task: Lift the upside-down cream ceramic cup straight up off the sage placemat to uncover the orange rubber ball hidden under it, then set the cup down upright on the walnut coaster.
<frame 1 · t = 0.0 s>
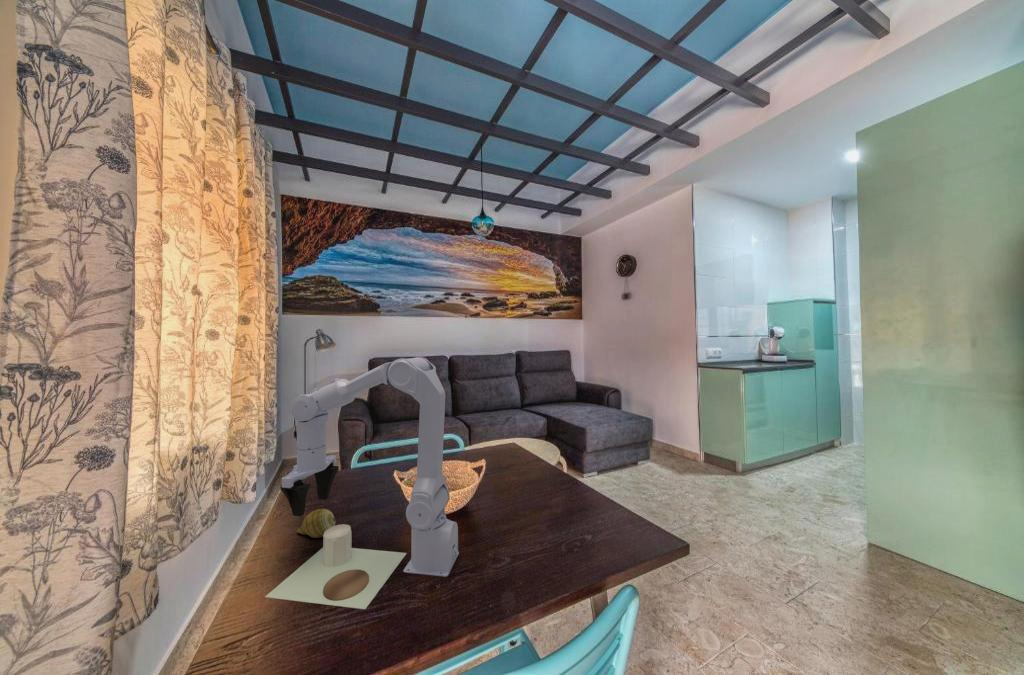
hand: (311, 506, 76), 10 cm above the table, tool pointing down, fingers open, 7 cm apart
cup: (337, 558, 73), resting on placemat
ball: (337, 551, 73), point 2 cm above the table, touching placemat
placemat: (342, 574, 69), on the table
coaster: (346, 584, 65), resting on placemat
seashell: (316, 534, 84), on the table
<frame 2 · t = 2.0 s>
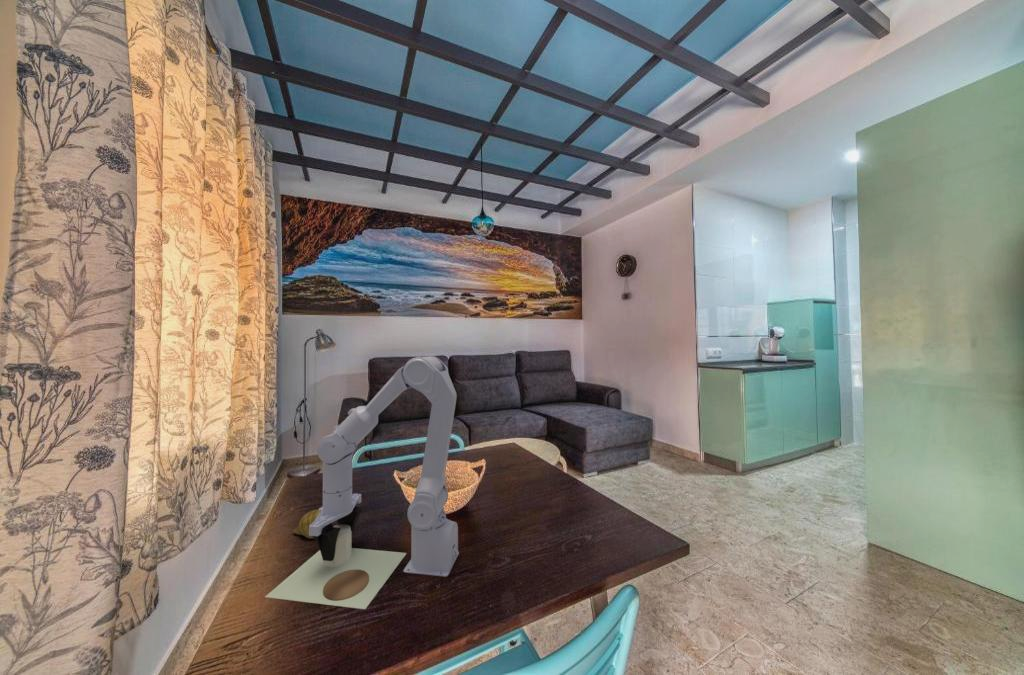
hand: (337, 551, 73), 2 cm above the table, tool pointing down, fingers closed on cup, 5 cm apart
cup: (337, 558, 73), resting on placemat, touching gripper
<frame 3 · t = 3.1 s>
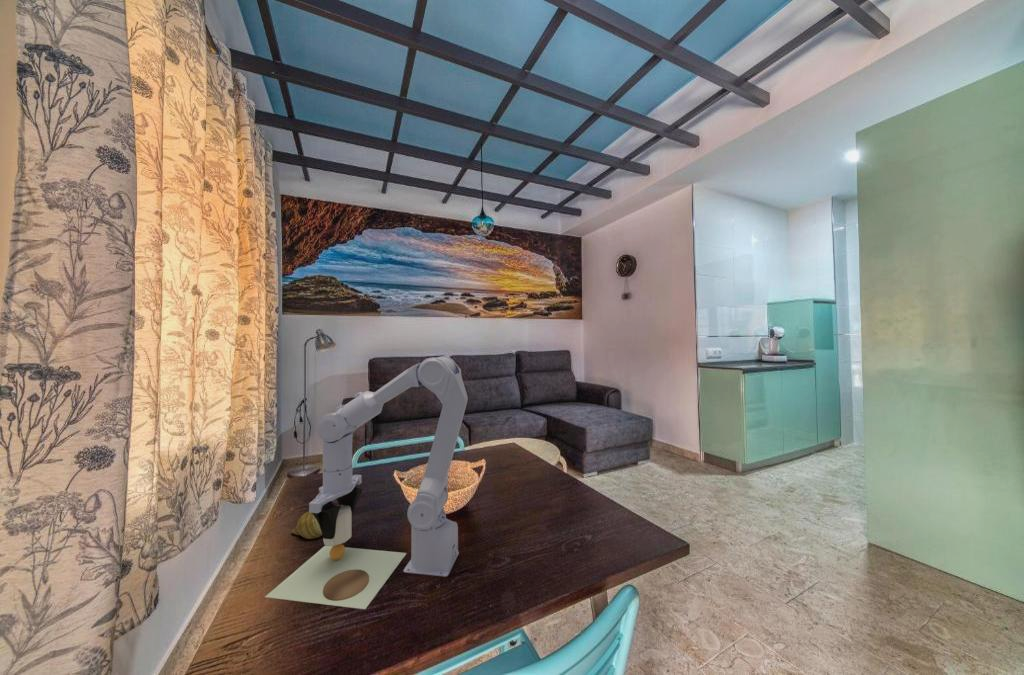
hand: (337, 530, 73), 6 cm above the table, tool pointing down, fingers closed on cup, 5 cm apart
cup: (337, 538, 73), point 5 cm above the table, touching gripper
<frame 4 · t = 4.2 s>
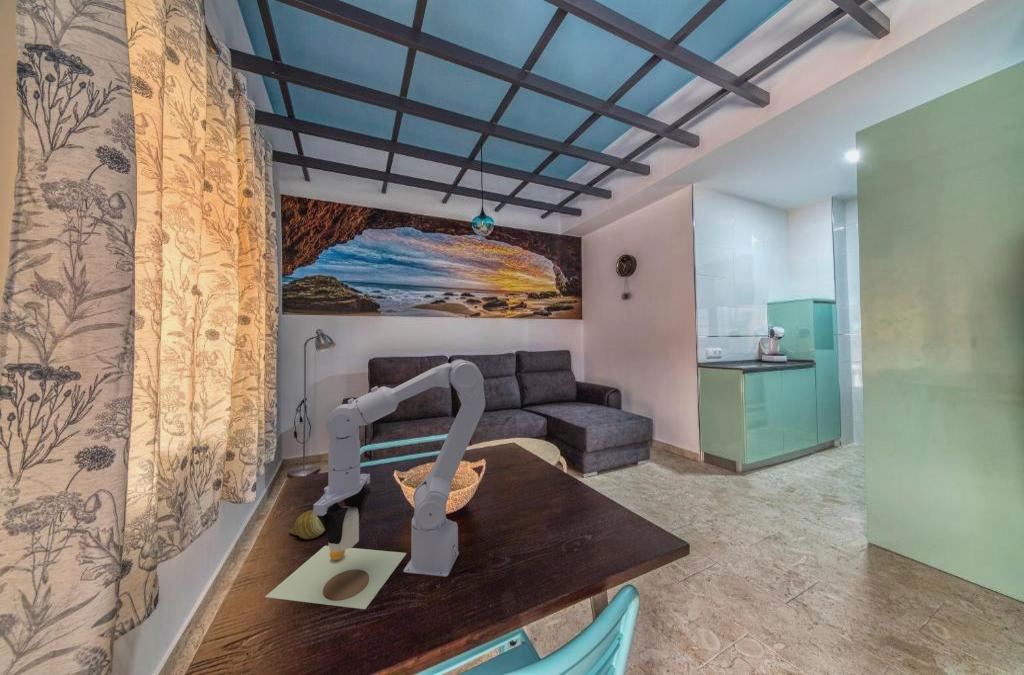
hand: (344, 534, 67), 9 cm above the table, tool pointing down, fingers closed on cup, 5 cm apart
cup: (343, 542, 67), point 7 cm above the table, touching gripper
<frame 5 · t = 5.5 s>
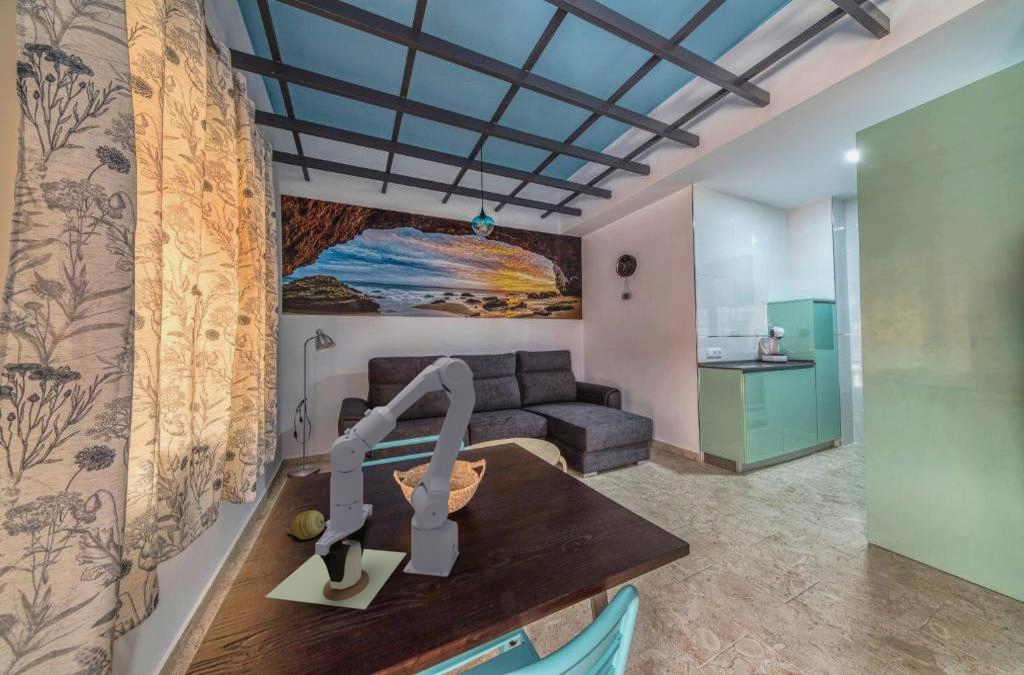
hand: (346, 570, 65), 3 cm above the table, tool pointing down, fingers closed on cup, 5 cm apart
cup: (345, 579, 65), point 1 cm above the table, touching gripper
when the fingers open (3 cm above the table, at t = 6.5 s): cup stays where it is, resting on coaster.
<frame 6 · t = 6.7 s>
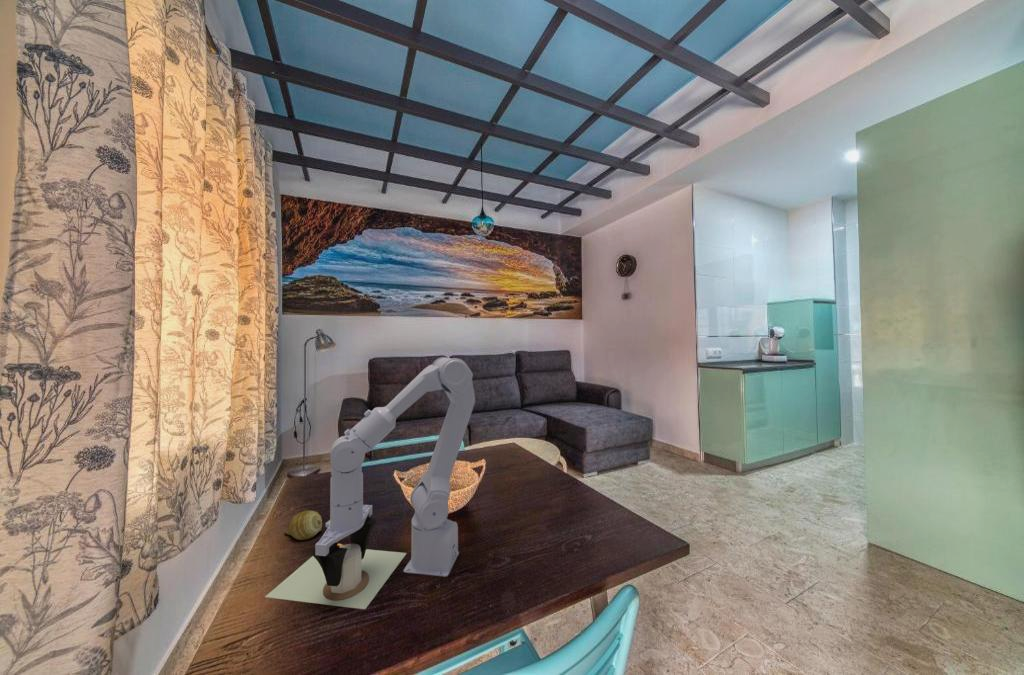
hand: (346, 570, 65), 3 cm above the table, tool pointing down, fingers open, 7 cm apart
cup: (345, 583, 65), point 1 cm above the table, touching coaster
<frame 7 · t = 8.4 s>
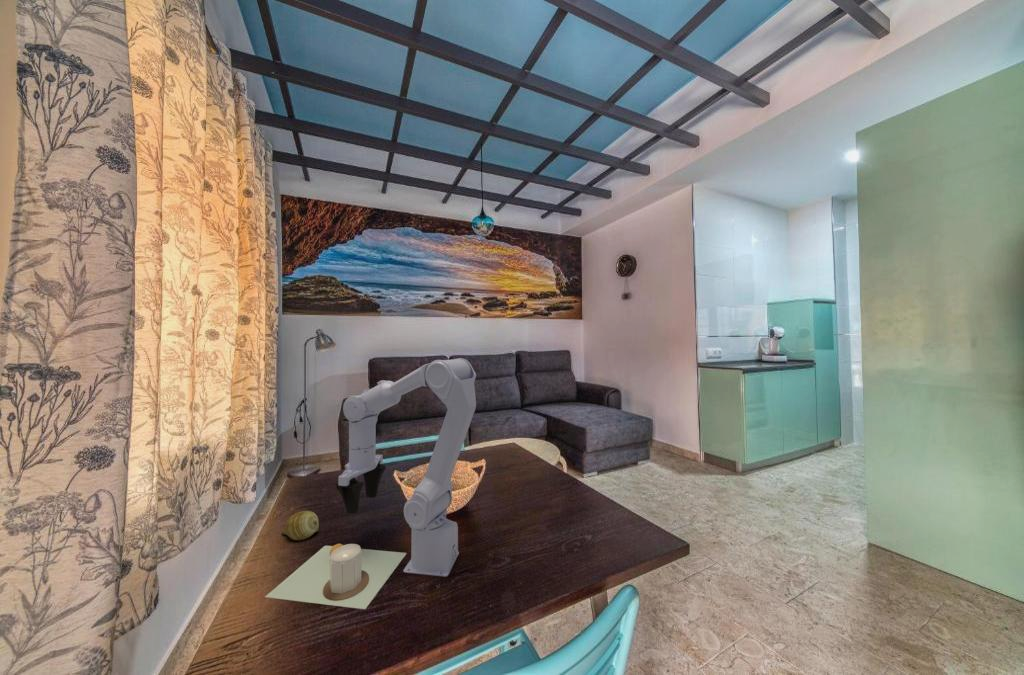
hand: (362, 504, 79), 9 cm above the table, tool pointing down, fingers open, 7 cm apart
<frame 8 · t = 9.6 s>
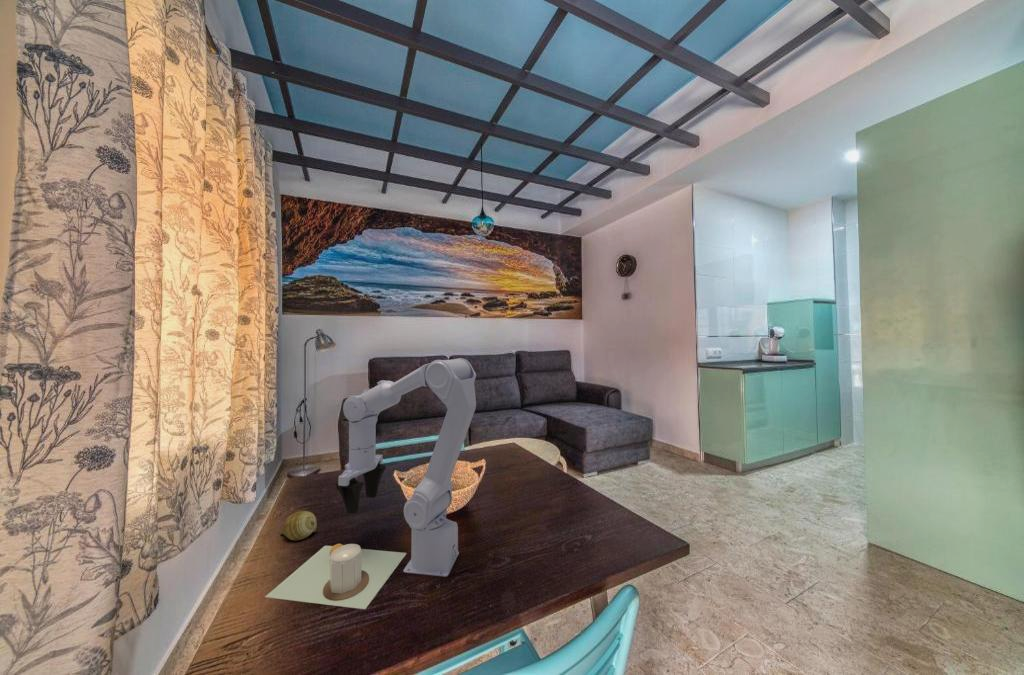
hand: (362, 504, 79), 9 cm above the table, tool pointing down, fingers open, 7 cm apart
at the end: cup 0.2 cm off-centre on the coaster, point 0.3 cm above the coaster's base; cup tilted 0°; the gripper is holding nothing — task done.
